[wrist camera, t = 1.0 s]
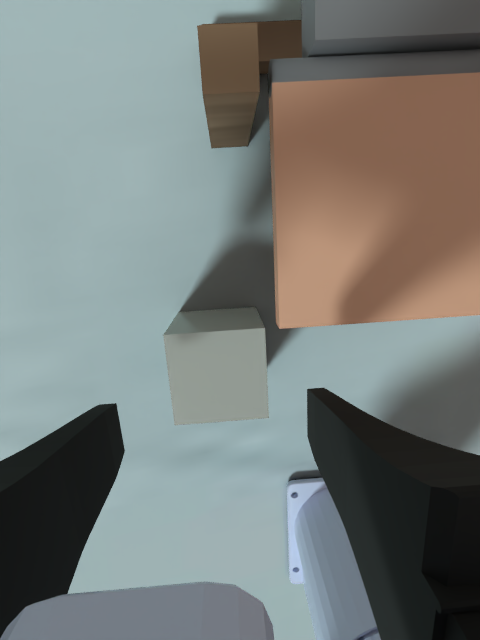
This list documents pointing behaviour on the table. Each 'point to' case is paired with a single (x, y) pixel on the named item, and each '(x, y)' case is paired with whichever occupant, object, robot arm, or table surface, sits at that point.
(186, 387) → the stone block
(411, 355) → the table surface
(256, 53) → the frame
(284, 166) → the trapdoor
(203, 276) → the table surface
